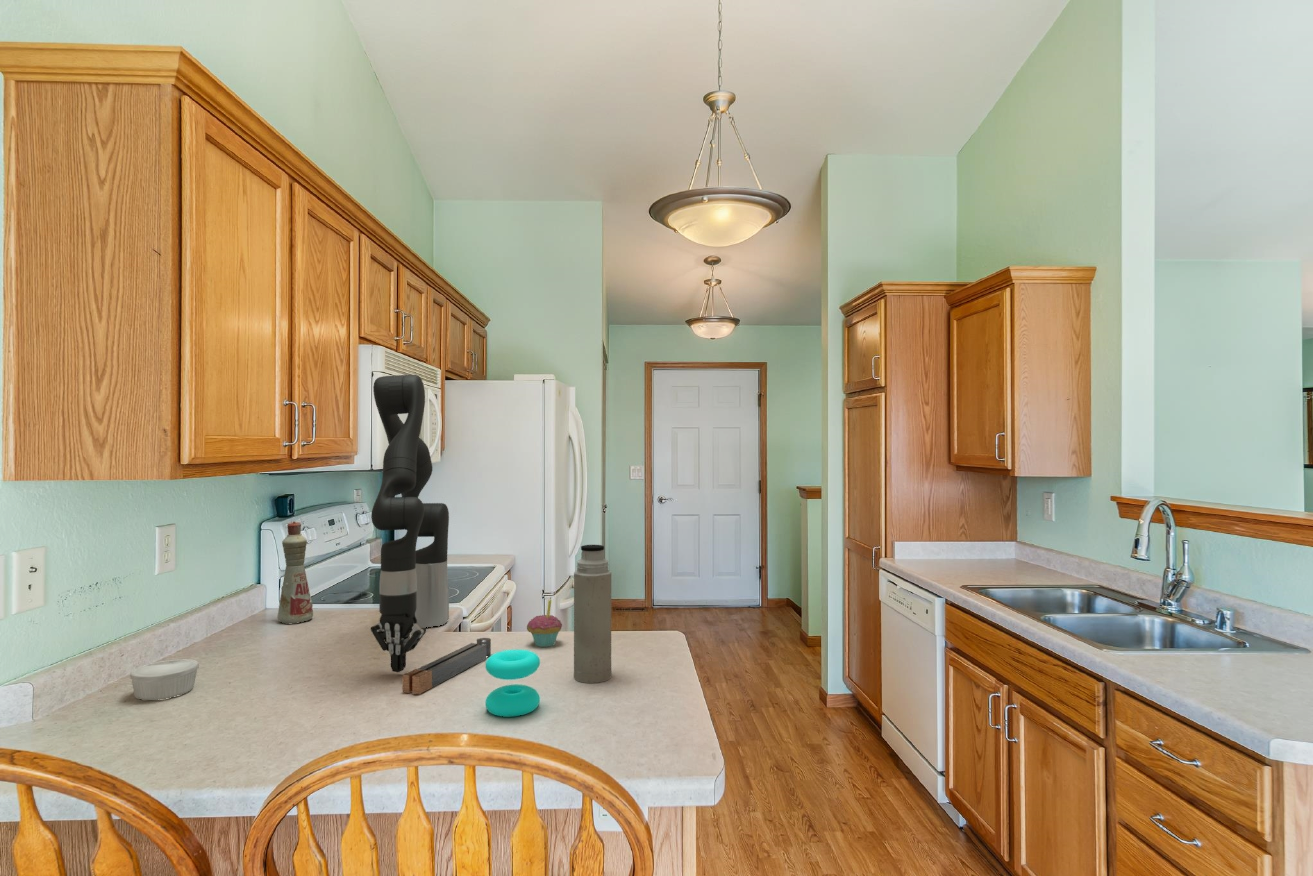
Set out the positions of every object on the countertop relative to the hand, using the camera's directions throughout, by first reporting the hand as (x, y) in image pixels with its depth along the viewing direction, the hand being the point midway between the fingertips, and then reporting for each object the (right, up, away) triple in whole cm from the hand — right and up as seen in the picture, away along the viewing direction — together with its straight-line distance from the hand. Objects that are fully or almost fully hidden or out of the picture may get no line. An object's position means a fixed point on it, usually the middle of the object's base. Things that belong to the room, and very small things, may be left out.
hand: (398, 670), depth 148 cm
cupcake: (+28, -1, +23) cm, 36 cm away
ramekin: (-43, -1, -10) cm, 44 cm away
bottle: (-46, -2, +46) cm, 65 cm away
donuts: (+29, -1, -19) cm, 34 cm away
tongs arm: (+9, -1, +1) cm, 9 cm away
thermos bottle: (+42, -1, -1) cm, 42 cm away
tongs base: (+11, -1, +2) cm, 11 cm away
